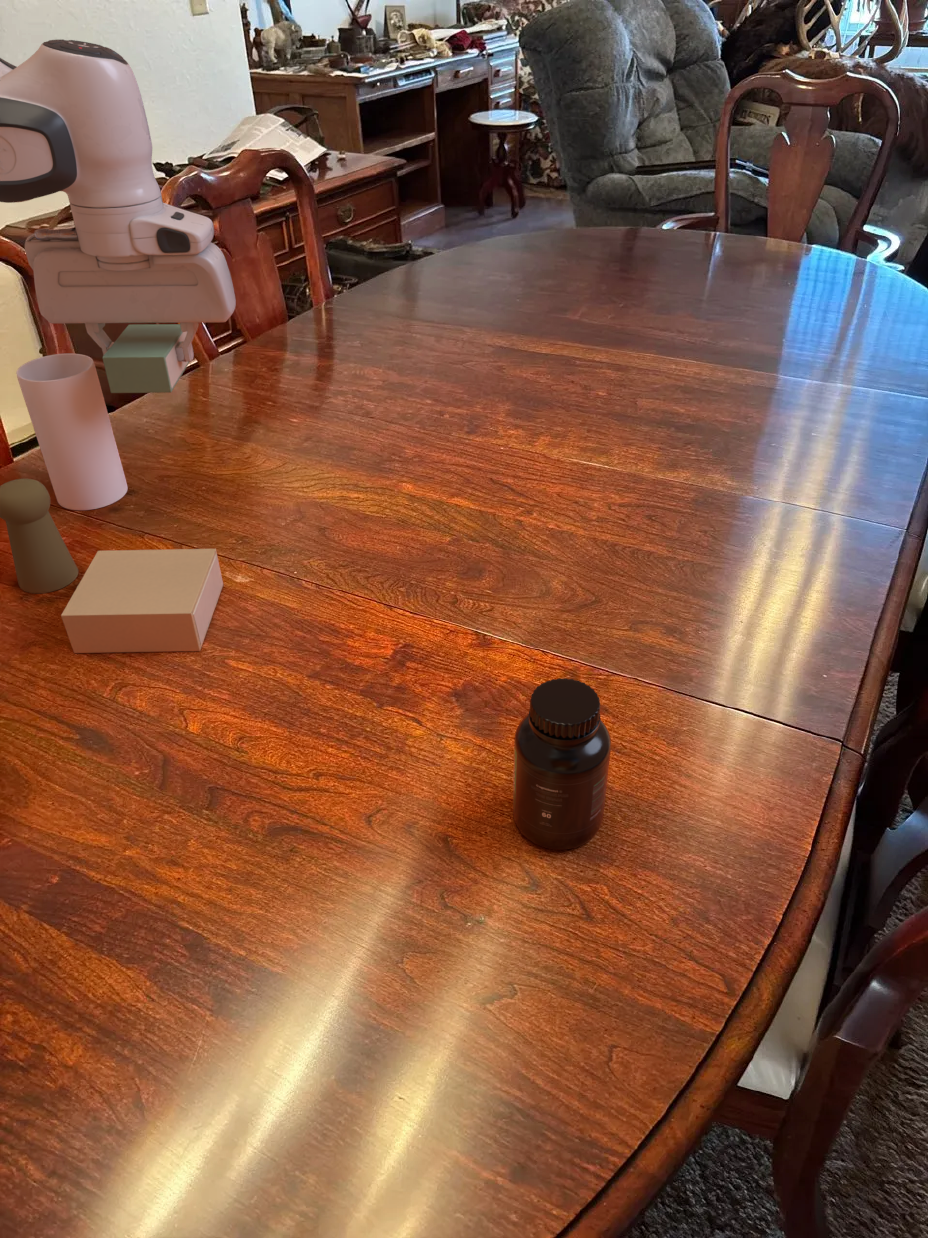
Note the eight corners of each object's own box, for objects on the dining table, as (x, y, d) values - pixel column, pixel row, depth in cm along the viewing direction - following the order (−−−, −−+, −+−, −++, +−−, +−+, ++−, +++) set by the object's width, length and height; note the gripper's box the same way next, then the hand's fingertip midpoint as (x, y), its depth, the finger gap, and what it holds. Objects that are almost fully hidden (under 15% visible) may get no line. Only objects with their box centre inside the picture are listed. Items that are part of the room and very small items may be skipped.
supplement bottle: (495, 827, 70) (496, 710, 62) (540, 771, 74) (546, 656, 67) (575, 868, 66) (586, 750, 59) (618, 807, 71) (632, 690, 64)
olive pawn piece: (90, 570, 98) (61, 479, 92) (44, 599, 94) (10, 506, 88) (52, 555, 101) (21, 465, 94) (6, 583, 97) (-30, 491, 90)
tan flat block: (73, 653, 87) (60, 615, 85) (108, 586, 96) (97, 550, 93) (201, 651, 87) (192, 613, 84) (224, 584, 96) (216, 548, 93)
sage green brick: (110, 393, 99) (101, 357, 96) (136, 358, 107) (128, 324, 104) (171, 392, 99) (164, 356, 96) (192, 358, 107) (186, 323, 104)
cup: (72, 517, 107) (30, 387, 98) (47, 491, 113) (5, 365, 103) (138, 494, 112) (105, 367, 102) (111, 470, 117) (77, 347, 107)
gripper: (7, 237, 91) (46, 371, 99) (215, 235, 91) (236, 370, 99) (30, 220, 96) (65, 350, 104) (227, 219, 96) (246, 349, 104)
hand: (150, 360), depth 102 cm, fingers closed on sage green brick, 6 cm apart
